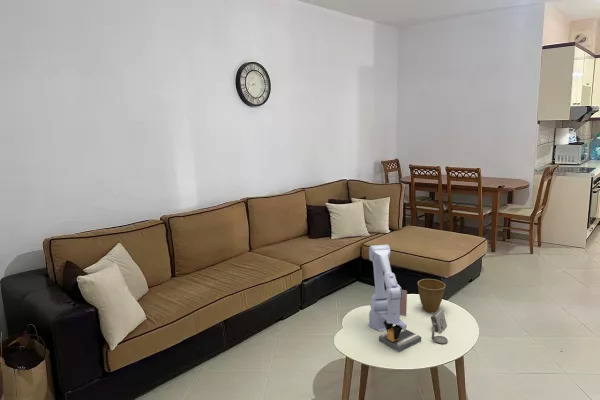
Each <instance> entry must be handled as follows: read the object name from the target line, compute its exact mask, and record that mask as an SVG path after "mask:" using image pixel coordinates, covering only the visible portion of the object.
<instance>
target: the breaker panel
mask: <svg viewBox="0 0 600 400" xmlns="http://www.w3.org/2000/svg"><path fill="white" fill-rule="evenodd" d="M387 335H388V333H387V332H385V333H383V334H381V335H379V336H378V342H380V343H382V344H384V345H386V346H387V347H389V348H391V349H393V350H395V351H396V352H398V353H400V352H402V351H404V350H406V349H409V348H410V347H413V346H414V345H417V344H418V343H421V342H422V336H421V335H419V334H417V333H414V332H413V331H410V330H409V329H407V328H406V329H402V330H401V332H400V334H399V339H398V340H396V341H394V342H392V341H390V340H389V339H387Z"/></svg>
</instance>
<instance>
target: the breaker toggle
mask: <svg viewBox="0 0 600 400" xmlns="http://www.w3.org/2000/svg"><path fill="white" fill-rule="evenodd" d="M387 339H389V340H390V341H392V342H394V341H396V340H398V339H399V338H398V339H396V340H395V339H394V330H393V328H391V329H388V335H387Z"/></svg>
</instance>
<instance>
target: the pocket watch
mask: <svg viewBox="0 0 600 400" xmlns="http://www.w3.org/2000/svg"><path fill="white" fill-rule="evenodd" d="M434 325H435V324H434V321H433V325H431V339H432V340H433V341H434V343H437V344H439V345H442V344H447V343H448V341H449V339H448V338H447V337H445V336H443V335H435V334H436V331H435V326H434Z"/></svg>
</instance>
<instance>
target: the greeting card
mask: <svg viewBox="0 0 600 400" xmlns="http://www.w3.org/2000/svg"><path fill="white" fill-rule="evenodd" d="M407 301H408V290H406V289H405V290H404V289H402V298H400V316H403V317H407V305H408V303H407Z"/></svg>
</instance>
